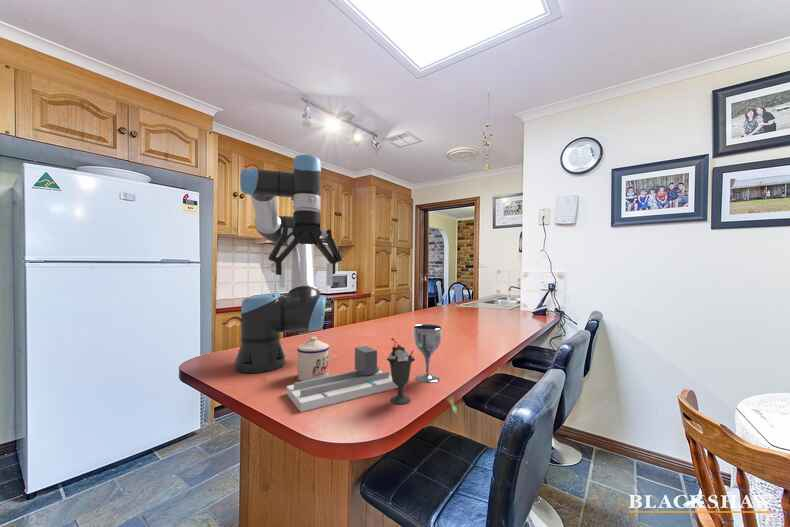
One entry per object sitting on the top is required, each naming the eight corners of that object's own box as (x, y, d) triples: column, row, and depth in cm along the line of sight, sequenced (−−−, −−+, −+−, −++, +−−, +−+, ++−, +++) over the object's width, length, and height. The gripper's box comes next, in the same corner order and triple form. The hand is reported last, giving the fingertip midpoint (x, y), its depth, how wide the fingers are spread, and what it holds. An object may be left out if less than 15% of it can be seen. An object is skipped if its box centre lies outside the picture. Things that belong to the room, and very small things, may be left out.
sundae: (381, 399, 77) (381, 337, 77) (402, 392, 81) (402, 334, 81) (397, 408, 72) (397, 342, 72) (419, 401, 76) (419, 338, 76)
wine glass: (437, 385, 86) (437, 330, 87) (409, 381, 89) (410, 328, 90) (444, 376, 94) (444, 325, 94) (418, 372, 97) (418, 323, 97)
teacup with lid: (315, 384, 87) (316, 342, 87) (290, 380, 90) (290, 339, 90) (340, 371, 98) (340, 333, 98) (316, 367, 101) (317, 331, 101)
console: (286, 393, 80) (286, 380, 80) (375, 374, 95) (375, 363, 95) (300, 412, 70) (300, 396, 70) (397, 387, 85) (397, 374, 85)
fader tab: (354, 375, 88) (354, 347, 88) (366, 372, 90) (366, 345, 90) (365, 381, 83) (365, 352, 83) (376, 379, 85) (377, 350, 85)
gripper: (263, 204, 80) (262, 288, 80) (352, 213, 93) (352, 285, 93) (257, 209, 86) (256, 287, 86) (342, 217, 100) (342, 284, 100)
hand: (306, 286), depth 90 cm, fingers open, 13 cm apart
